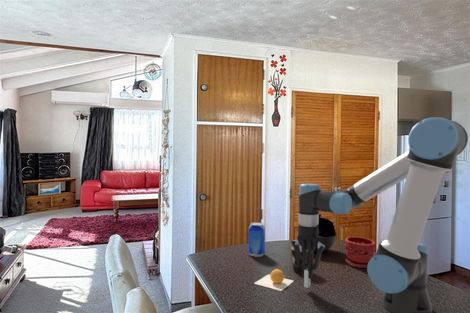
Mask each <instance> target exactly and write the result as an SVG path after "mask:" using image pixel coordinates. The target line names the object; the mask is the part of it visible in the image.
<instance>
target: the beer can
mask: <svg viewBox="0 0 470 313" xmlns="http://www.w3.org/2000/svg"><path fill="white" fill-rule="evenodd" d="M265 252H266V228H265V226H264V223H262V222H259V221H258V222H257V221H255V222H251V223H250V225H249V227H248V254H249V256H251V257H253V256H254V257H255V258H261V257H264V254H266V253H265Z"/></svg>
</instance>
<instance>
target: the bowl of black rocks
mask: <svg viewBox="0 0 470 313" xmlns="http://www.w3.org/2000/svg"><path fill="white" fill-rule="evenodd" d="M318 227H319V230H318V238H319V242H320V243H321V244H322V245H323V244H324V245H325V248H324V249H323V251H322V253H323V252H325V251H328V250H330V249H331V248H332V247H333V246H334V245H335V242H336V240H337V238H338V236H337V235H338V234H337V232H336V229H335V225H334V221H332V220H330V219H329V218H325V217H322V215H321V214H320V213H319V224H318ZM317 251H318V245H317V246H316V247H315V248H314V253H315V252H316V253H317Z"/></svg>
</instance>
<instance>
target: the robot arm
mask: <svg viewBox="0 0 470 313" xmlns="http://www.w3.org/2000/svg"><path fill="white" fill-rule="evenodd" d="M407 140H408V145H409V149H408V150H407V151H405V152H403V153H402V154H400V155H398V156H397V157H395V158H394V159H392V160H390V161H389V162H387V163H386V164H384V165H382V166H381V167H380V168H378V169H377V170H376V169H375V171H373V172H372V173H370V174H368V175H366V176H365V177H364V178H362V179H360V180H358V181H357V182H355V183H354V184H353V185H350V186H349V187H348V188H345V189H340V190H335V191H333V190H321V188H320V185H319V184H316V183H301V184H300V185H299V189H298V190H299V191H298V221H297V222H298V226H297V228H298V229H297V230H298V231H297V233H298V235H297V237H296V239H293V240H291V242H290V243H291V244H292V247H294V251H295V256H296V261H297V266H298V267H301V268H302V274H301V277H302V278H303V287H304V288H305V289H306V288H307V289H309V288H310V287H311V280H312V279H313V277H314V271H316V270H317V269H318V268H319V265H320V262H321V258H322V253H323V252H324V251H323V249H324V248H325V245H324V244H323V245H322V244H321V243H320V242H319V238H318V230H319V227H318V224H319V214H320V213H319V212H325V213H330V214H331V213H332V214H336V215H348V214H349V213H350V211H351V210H352V209H353V210H354V209H357V208H359V207H361V206H362V205H363V204H364V203H366V202H367V201H369V200H370V199H372V198H375V197H376V196H378V195H380V194H381V193H383V192H385V191H387V190H388V189H390V188H392V187H394V186H395V185H397V184H399V183H401V182H403V181H404V184H403V188H402V190H401V193H400V195H399V200H398V201H397V202H398V203H397V205H396V209H395V212H394V214H393V217H392V221H391V224H390V227H389V229H388V233H387V236H386V237H384V238H382V239H381V240H379V243H378V244H379V245H378V247H377V250H376V253H375V254H374V255H373V257H372V258H371V260H370V261H369V263H368V266H367V274H368V277H369V279H370V280H371V282H372V284H373V285H374V286H375V287H376V288H377V289H379V290H380V291H382V292H383V295H382V303H381V304H382V307H383V308H385V309H386V310H387V311H389V312H390V313H433V305H432V301H431V299H430V295H429V293H428V288H427V285H428V283H427V282H428V256H429V253H428V247H427V245H426V244H425V243H422V242H420V241H421V238H422V236H423V232H424V229H425V227H426V224H427V221H428V218H429V215H430V212H431V209H432V207H433V204H434V201H435V198H436V195H437V193H438V189H439V186H440V184H441V181H442V178H443V175H444V174H445V173H448V172H450V171H452V168H453V166H454V163H455V160H456V157H457V156H458V155H460V154H462V153H463V151H464V150H465V149H466V148H467V145H468V143H469V135H468V132H467V130H466V128H465V127H464V126H463V125H461V124H460V123H459V122H457V121H453V120H450V119H449V118H445V117H441V116H440V117H438V116H435V117H434V116H433V117H431V116H430V117H427V118H423V119H422V120H420V121H418V122H416V123H415V125H413V126H412V128H411V129H410V131H409V133H408V139H407ZM317 245H318V251H317V252H316V254H314V253H315V252H314V248H315V247H316V246H317ZM299 246H301V247H302V258H301V253H300V248H299ZM307 250H308V268H307ZM322 251H323V252H322Z"/></svg>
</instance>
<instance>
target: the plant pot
mask: <svg viewBox="0 0 470 313" xmlns="http://www.w3.org/2000/svg"><path fill="white" fill-rule="evenodd" d="M344 243H345V245H344V248H345V249H344V250H345V254H346V258H345V262H346V263H347V264H348V265H349V266H352V267H354V268H361V269H366V268H367V266H368V263H369V261H370V260H371V258H372V257H373V256H374V255H375V247H376V244H375V241H374V240H372V239H369V238H366V237H363V236H362V237H361V236H360V237H359V236H348V237H346V238H345V242H344Z"/></svg>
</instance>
